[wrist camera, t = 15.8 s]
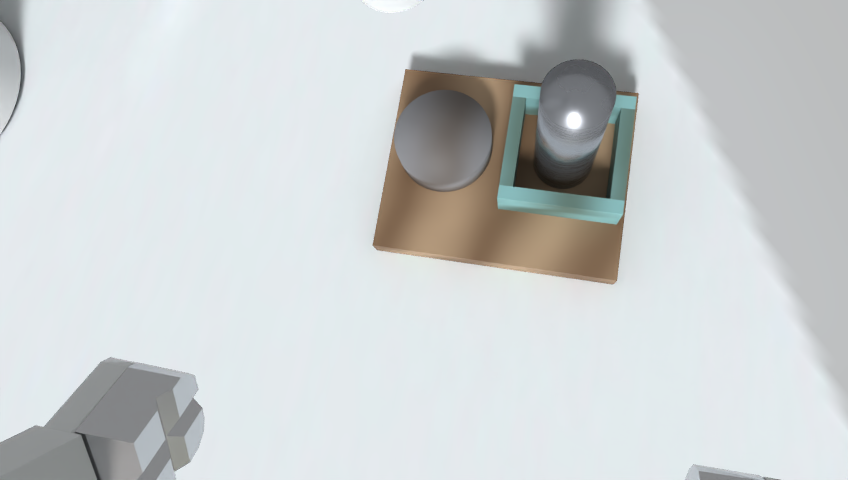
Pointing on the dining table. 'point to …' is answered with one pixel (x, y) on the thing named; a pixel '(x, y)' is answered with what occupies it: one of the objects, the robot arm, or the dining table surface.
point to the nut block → (498, 182)
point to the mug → (391, 5)
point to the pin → (572, 121)
